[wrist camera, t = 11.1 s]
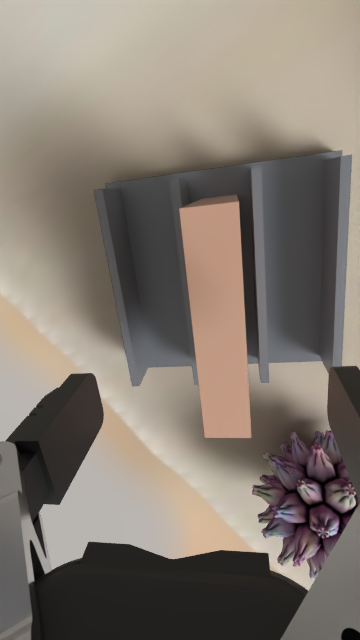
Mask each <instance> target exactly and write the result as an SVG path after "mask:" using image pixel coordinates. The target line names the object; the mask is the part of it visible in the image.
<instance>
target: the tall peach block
mask: <svg viewBox="0 0 360 640" xmlns="http://www.w3.org/2000/svg"><path fill="white" fill-rule="evenodd" d="M179 211H180V220H181V229H182V238H183V247H184V256H185V265H186V274H187V282H188V291H189V300H190V309H191V318H192V327H193V336H194V345H195V354H196V363H197V372H198V381H199V390H200V399H201V408H202V417H203V426H204V435H205V438H251V420H250V401H249V382H248V363H247V344H246V325H245V306H244V288H243V269H242V250H241V231H240V212H239V200H238V197H237V194H236V195H228V196H219V197H211V198H203V199H200V200H198V201H196V202H193V203H191V204H189V205H186V206H184V207H182V208H179Z"/></svg>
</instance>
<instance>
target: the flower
mask: <svg viewBox="0 0 360 640" xmlns="http://www.w3.org/2000/svg"><path fill="white" fill-rule="evenodd" d="M290 437H291V440H292V448H291V447H289V446H288V444H287V443H286V442H285V443H282V445H280V447H281V450H282V451H283V457H281V456H275V455H272V454H270V453H269V452H267V451H266V453H265V454H264V456H263V458H264V459H265V460H266V461H267V462H268V463H269V464H270V467H271V469H272V472H273V473H274V475H271V476H268V475H264V474H263V475H262V477H260V480H261V481H262V482H263V483H265V484H266V485H262V486H258V485H253V487H252V488H253V490H252V492H253V493H252V494H253V495H257V496H260V497H261V498H263V499H264V500H265V501H266V502H267V503H268V504H270V505H269V507H268V508H267V509H266V511H265V512H263V513H260V514H258V519H259V523H269V524H268V525H267V527H266V528H264V529H263V530H262V533H263V536H264V537H265V538H268V537H271V536H277V537H284V539H283V549H282V552H281V554H280V555H279V557H278V563H280V564H281V565H282V566H285V565H286V564H287V563H288V562H289V561H290V560H291V559H293V562H294V564H293V566H295V567H297V566H301V565H302V563H303V561H304V560H305V559H307V562H308V564H309V567H310V574H309V575H310V578H311V579H312V578H315V579H316V577H317V576H318V574H319V572H320V570H321V569H322V567H323V565H324V563H325V562H326V560H327V558H328V557H329V555H330V553H331V551H332V550H333V548H334V546H335V544H336V543H337V541H338V539H339V538H340V536H341V534H342V532H343V531H344V529H345V527H346V525H347V524H348V522H349V520H350V519H351V517H352V515H353V513H354V512H355V510H356V508H357V507H358V505H359V504H360V503H359V500H358V497H357V495H356V492H355V490H354V487H353V485H352V482H351V479H350V477H349V474H348V472H347V469H346V467H345V464H344V462H343V459H342V456H341V454H340V451H339V449H338V446H337V444H336V442H335V439H334V436H333V433H332V432H331V431H326V435H325V438H324V434H323V433H320V432H319V431H316V432H315V439H314V441H313V443H312V444H311V446H310V448H309V447H308V446H307V445H306V444H305V443H304V442H302V441H301V440H300V439H299V437H298V436H297V434H296V433H295V432H294V431H293V432H291V433H290Z"/></svg>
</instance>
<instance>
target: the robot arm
mask: <svg viewBox="0 0 360 640" xmlns="http://www.w3.org/2000/svg"><path fill="white" fill-rule="evenodd" d="M327 411H328V420H329V425H330V428H331V431H332V433H333V436H334V438H335V441H336V444H337V446H338V449H339V451H340V454H341V456H342V459H343V462H344V464H345V467H346V469H347V472H348V474H349V477H350V479H351V482H352V485H353V487H354V490H355V492H356V495H357V497H358V500H359V503H360V370H359V368H358V367H357V366H340V367H330V370H329V384H328V406H327ZM103 415H104V414H103V407H102V403H101V398H100V394H99V390H98V386H97V381H96V378H95V376H94V375H93V374H92V373H84V374H71V375H70V376H69V377H68V378H67V379H66V380H65V382H64V383H63V384H62V385H61V386H60V387H59V388H56V389H55V390H53V391H52V392H50V393H49V394H47V395H46V396H45V397H44V398H43V399H42V400H41V401H40V402H39V403H38V404H37V406H36V408H34V409H33V410H32V411H31V413H30V414H29V416H27V417H26V418H25V419H24V420H23V421H22V423H21V424H20V425H19V426H18V427H17V428H16V429H15V431H14V432H13V433H12V434H11V435H10V436H9V438H8V439H7V440H6V441H2V442H0V640H360V504H359V505H358V507H357V508H356V510H355V512H354V513H353V515H352V517H351V519H350V520H349V522H348V524H347V525H346V527H345V529H344V531H343V532H342V534H341V536H340V538H339V539H338V541H337V543H336V544H335V546H334V548H333V550H332V551H331V553H330V555H329V557H328V558H327V560H326V562H325V563H324V565H323V567H322V569H321V570H320V572H319V574H318V576H317V577H316V579H315V581H314V583H313V584H312V586H311V588H310V589H309V591H308V590H306V589H305V588H304V587H302V586H301V585H299V584H298V583H296V582H294V581H293V580H291V579H289V578H287V577H285V576H283V575H281V574H279V573H276V572H273V571H271V570H270V567H269V556H268V553H256V552H240V551H224V550H220V551H215V552H210V553H205V554H200V555H195V556H189V557H185V558H179V559H168V558H165V557H163V556H160V555H157V554H154V553H152V552H149V551H146V550H143V549H141V548H138V547H135V546H132V545H130V544H115V543H99V542H88V545H87V547H86V550H85V552H84V555H83V557H82V558H80V559H77V560H74V561H70V562H68V563H66V564H63V565H61V566H59V567H57V568H55V569H53V570H52V569H51V565H50V559H49V554H48V549H47V543H46V538H45V533H44V528H43V522H42V518H41V515H40V512H39V511H40V509H41V508H42V506H43V504H55V505H59V504H60V503H61V501H62V499H63V497H64V495H65V493H66V491H67V490H68V488H69V486H70V484H71V482H72V480H73V478H74V477H75V475H76V473H77V471H78V469H79V467H80V466H81V464H82V462H83V460H84V458H85V456H86V454H87V453H88V451H89V449H90V447H91V445H92V443H93V442H94V440H95V438H96V436H97V434H98V432H99V430H100V428H101V426H102V423H103Z"/></svg>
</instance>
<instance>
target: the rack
mask: <svg viewBox="0 0 360 640" xmlns="http://www.w3.org/2000/svg"><path fill="white" fill-rule="evenodd" d="M351 164H352V155H346V156H342V150H341V151H333V152H326V153H319V154H312V155H305V156H298V157H291V158H284V159H276V160H269V161H262V162H255V163H248V164H241V165H234V166H226V167H219V168H212V169H205V170H198V171H191V172H184V173H177V174H169V175H162V176H155V177H148V178H141V179H134V180H127V181H120V182H112V183H105V184H106V189H99V190H94V194H95V199H96V204H97V209H98V214H99V219H100V225H101V230H102V235H103V240H104V245H105V250H106V255H107V260H108V265H109V270H110V276H111V281H112V286H113V291H114V296H115V301H116V306H117V311H118V316H119V321H120V327H121V332H122V337H123V342H124V347H125V352H126V357H127V362H128V367H129V372H130V377H131V383H132V386H140V384H141V381H142V379H143V377H144V375H145V373H146V371H147V369H148V367H174V366H192V369H193V377H194V385H197V384H199V381H198V372H197V363H196V354H195V345H194V336H193V327H192V318H191V309H190V300H189V291H188V282H187V274H186V265H185V256H184V247H183V238H182V229H181V220H180V211H179V208H182V207H184V206H186V205H189V204H191V203H193V202H196V201H198V200H200V199H203V198H211V197H219V196H228V195H236V194H237V197H238V200H239V212H240V231H241V250H242V269H243V288H244V306H245V325H246V344H247V363H248V364H253V363H258V365H259V373H260V380H261V383H269V368H268V363H280V362H306V361H323V363H324V365H325V367H326V369H327V371H328V373H329V370H330V367H340V366H342V349H343V328H344V308H345V287H346V266H347V246H348V225H349V205H350V184H351Z"/></svg>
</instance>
